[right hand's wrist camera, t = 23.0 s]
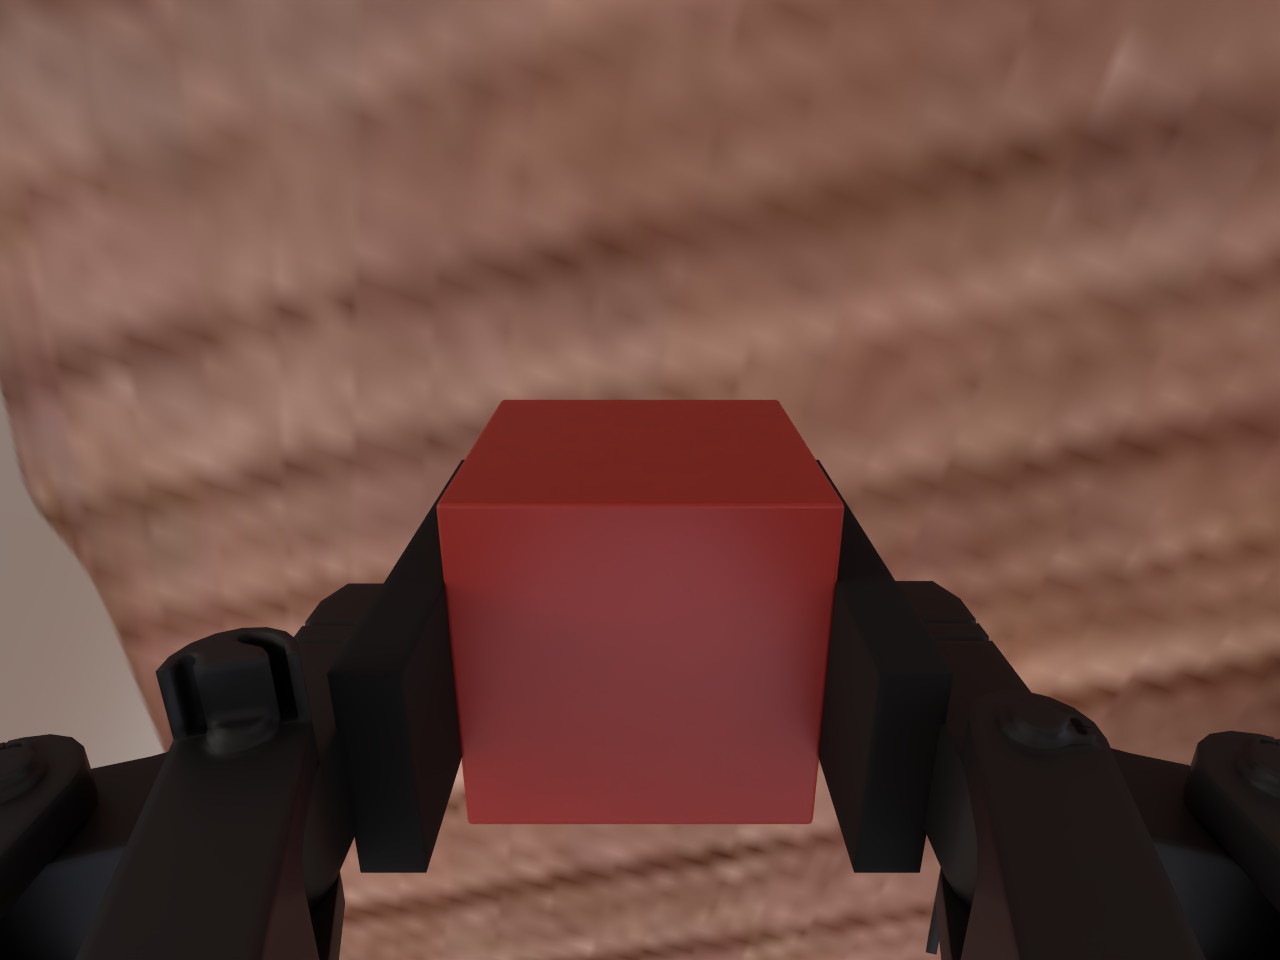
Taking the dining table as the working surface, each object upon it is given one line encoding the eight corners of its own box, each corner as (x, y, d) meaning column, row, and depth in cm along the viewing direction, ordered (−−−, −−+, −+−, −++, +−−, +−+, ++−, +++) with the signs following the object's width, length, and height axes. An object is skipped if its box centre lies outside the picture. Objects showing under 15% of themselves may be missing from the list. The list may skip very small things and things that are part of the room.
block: (501, 399, 14) (434, 504, 9) (778, 399, 14) (846, 504, 9) (516, 640, 16) (467, 825, 11) (763, 640, 16) (813, 826, 11)
